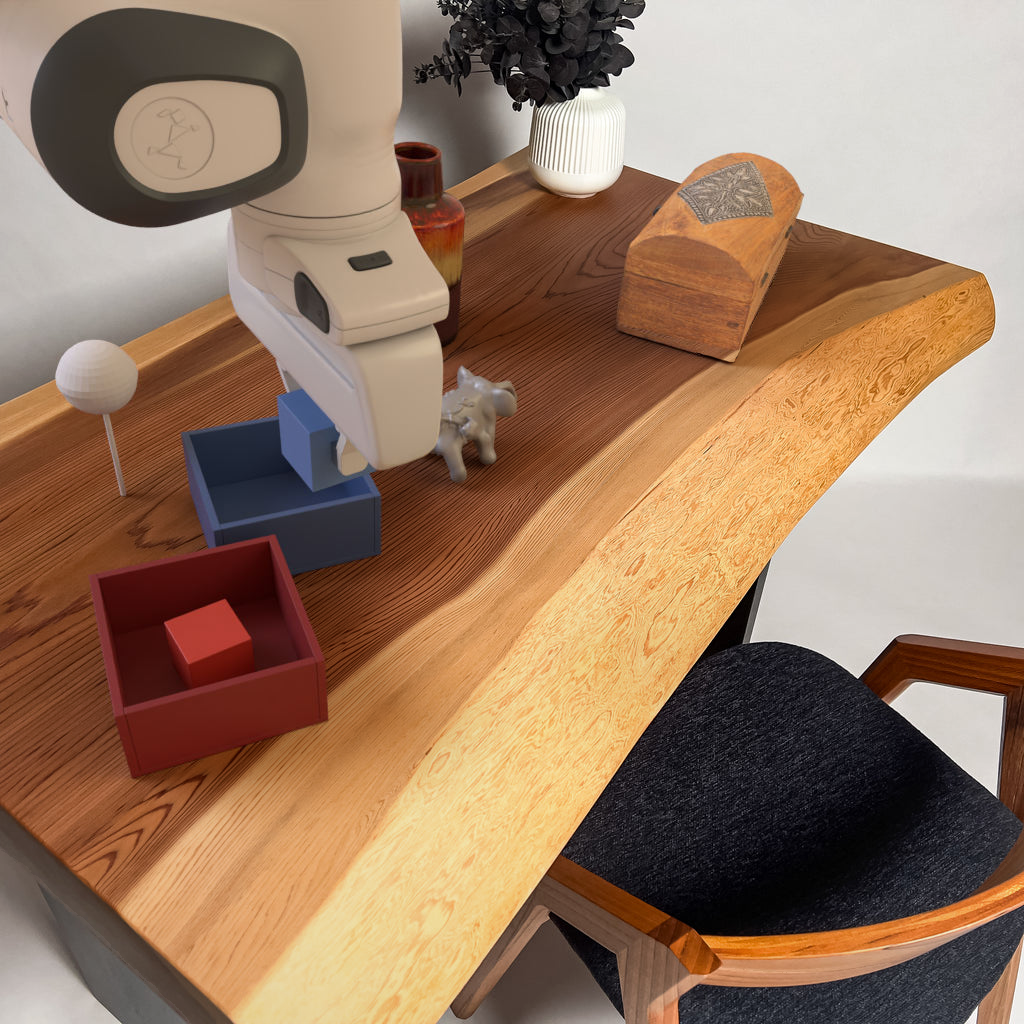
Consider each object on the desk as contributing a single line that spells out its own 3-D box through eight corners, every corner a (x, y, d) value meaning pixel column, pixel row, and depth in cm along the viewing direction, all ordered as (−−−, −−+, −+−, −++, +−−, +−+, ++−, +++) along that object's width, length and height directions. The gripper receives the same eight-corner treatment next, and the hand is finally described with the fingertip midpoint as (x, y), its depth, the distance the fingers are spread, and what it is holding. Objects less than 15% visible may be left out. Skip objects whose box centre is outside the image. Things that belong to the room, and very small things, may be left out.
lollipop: (131, 464, 87) (100, 317, 78) (174, 492, 85) (148, 343, 75) (71, 496, 83) (30, 346, 73) (115, 526, 81) (79, 374, 71)
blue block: (312, 492, 59) (309, 433, 56) (281, 453, 62) (276, 395, 59) (377, 470, 61) (377, 413, 59) (344, 434, 64) (342, 377, 61)
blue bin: (222, 591, 76) (213, 530, 72) (190, 491, 85) (180, 432, 81) (381, 554, 81) (381, 495, 77) (335, 463, 90) (333, 405, 86)
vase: (464, 312, 114) (475, 138, 101) (451, 358, 106) (461, 177, 93) (374, 300, 114) (373, 126, 101) (354, 346, 106) (350, 163, 93)
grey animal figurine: (391, 466, 90) (392, 398, 85) (449, 404, 99) (453, 339, 94) (480, 498, 88) (486, 429, 83) (531, 432, 97) (540, 367, 92)
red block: (196, 706, 67) (188, 664, 64) (172, 664, 70) (163, 621, 67) (257, 680, 69) (251, 638, 66) (231, 640, 72) (225, 598, 69)
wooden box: (671, 237, 136) (691, 138, 127) (786, 267, 131) (816, 167, 122) (599, 328, 114) (618, 216, 105) (734, 367, 110) (766, 254, 101)
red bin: (132, 779, 63) (114, 717, 59) (105, 637, 72) (88, 574, 68) (328, 720, 68) (325, 659, 64) (280, 594, 77) (275, 533, 72)
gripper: (188, 174, 56) (215, 374, 65) (354, 335, 44) (359, 554, 53) (288, 158, 59) (301, 352, 68) (469, 305, 47) (455, 517, 56)
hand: (327, 442), depth 61 cm, fingers closed on blue block, 4 cm apart
